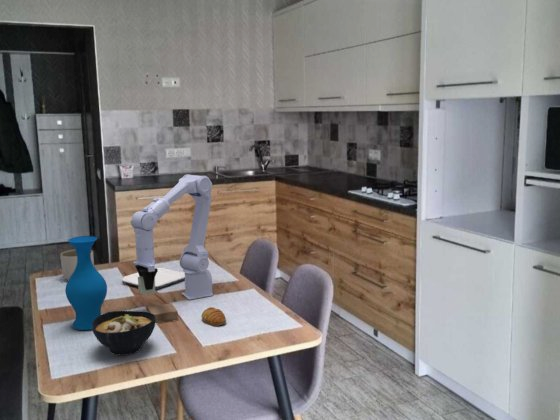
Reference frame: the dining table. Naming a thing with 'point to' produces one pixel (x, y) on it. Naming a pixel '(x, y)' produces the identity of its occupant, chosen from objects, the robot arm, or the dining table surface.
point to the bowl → (123, 330)
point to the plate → (158, 278)
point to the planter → (70, 262)
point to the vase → (85, 285)
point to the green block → (142, 287)
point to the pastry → (213, 316)
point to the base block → (164, 312)
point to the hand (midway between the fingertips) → (147, 287)
